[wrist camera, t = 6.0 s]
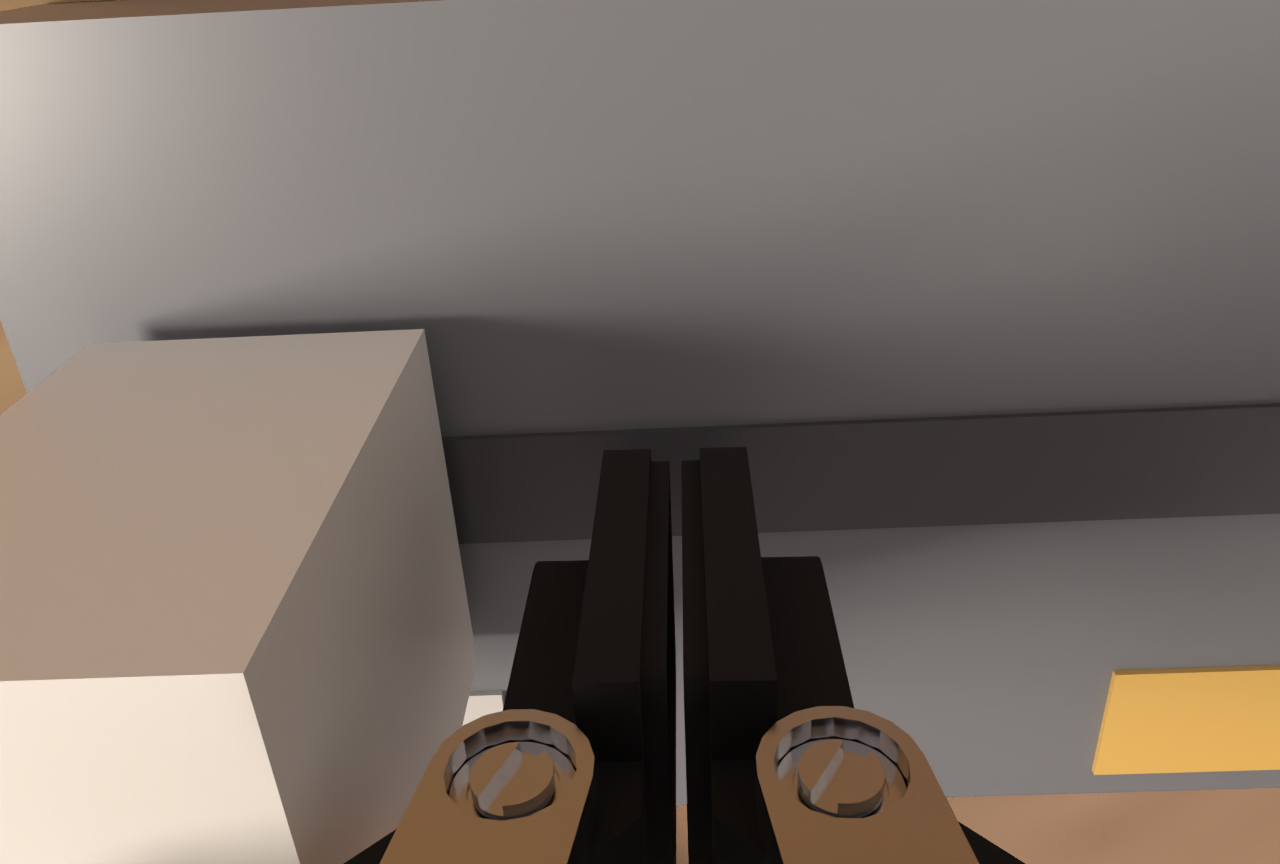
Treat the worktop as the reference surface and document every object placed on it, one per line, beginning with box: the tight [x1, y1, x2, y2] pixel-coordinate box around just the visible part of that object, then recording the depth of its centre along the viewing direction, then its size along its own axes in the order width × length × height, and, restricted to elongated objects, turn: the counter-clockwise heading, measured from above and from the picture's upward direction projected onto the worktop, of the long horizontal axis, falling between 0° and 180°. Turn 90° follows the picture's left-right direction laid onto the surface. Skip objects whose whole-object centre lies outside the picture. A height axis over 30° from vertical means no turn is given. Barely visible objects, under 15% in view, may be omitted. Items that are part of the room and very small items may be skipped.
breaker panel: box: [0, 0, 1280, 805], centre depth 15 cm, size 20×12×3 cm, turn 93°
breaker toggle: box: [0, 329, 477, 864], centre depth 10 cm, size 4×5×6 cm
